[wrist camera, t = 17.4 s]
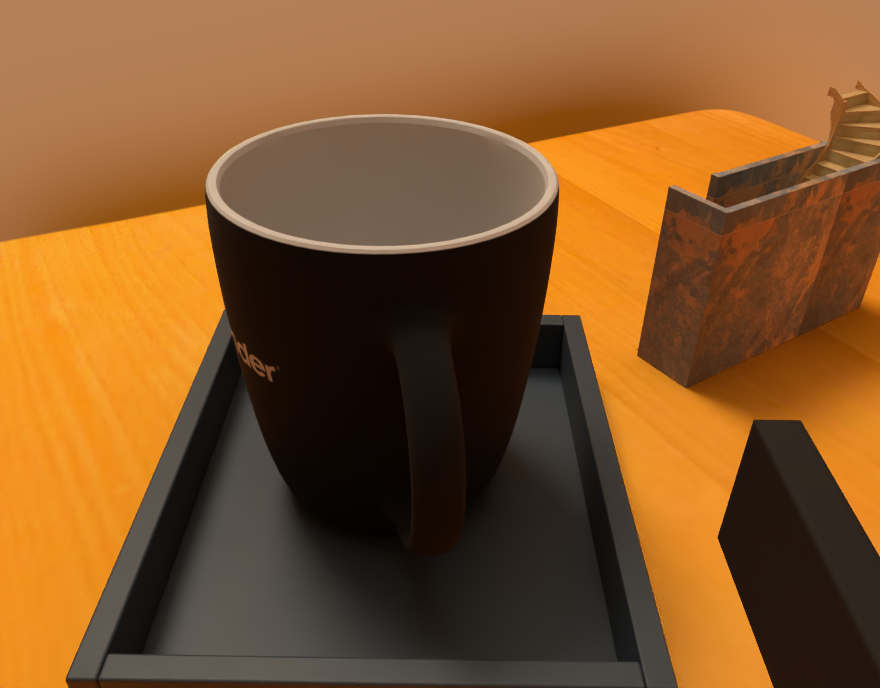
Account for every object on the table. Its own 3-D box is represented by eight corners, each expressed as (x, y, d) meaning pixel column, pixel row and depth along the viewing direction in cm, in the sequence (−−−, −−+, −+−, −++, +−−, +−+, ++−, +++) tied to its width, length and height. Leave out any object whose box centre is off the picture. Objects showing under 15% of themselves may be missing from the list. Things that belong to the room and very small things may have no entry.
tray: (89, 743, 19) (63, 679, 17) (232, 362, 32) (224, 308, 30) (659, 751, 19) (678, 689, 18) (572, 368, 32) (580, 315, 30)
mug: (247, 397, 29) (207, 120, 23) (488, 370, 31) (505, 106, 25) (254, 700, 19) (188, 354, 14) (606, 638, 21) (678, 305, 15)
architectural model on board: (799, 284, 38) (863, 78, 33) (857, 313, 36) (935, 98, 31) (627, 357, 33) (669, 126, 28) (683, 395, 31) (741, 154, 26)
